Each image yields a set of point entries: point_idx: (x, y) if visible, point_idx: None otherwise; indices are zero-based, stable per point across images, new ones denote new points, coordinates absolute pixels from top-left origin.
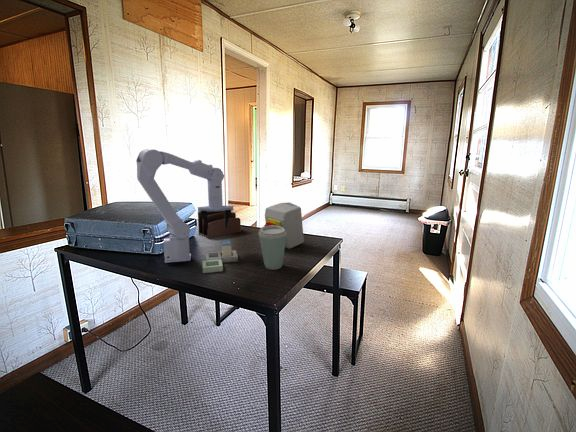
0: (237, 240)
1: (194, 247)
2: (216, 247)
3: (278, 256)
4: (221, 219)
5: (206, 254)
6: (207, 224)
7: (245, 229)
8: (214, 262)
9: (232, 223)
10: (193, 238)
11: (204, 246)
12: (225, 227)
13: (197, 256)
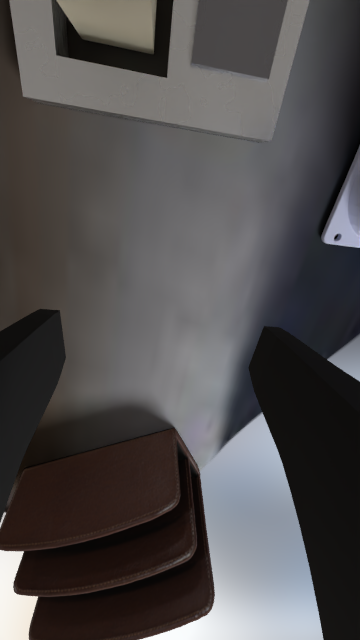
0: None
1: None
2: (157, 310)
3: None
4: (95, 536)
5: (285, 77)
6: (300, 354)
7: None
8: None
9: (44, 511)
10: (228, 439)
11: (213, 342)
12: (53, 310)
13: (299, 187)
